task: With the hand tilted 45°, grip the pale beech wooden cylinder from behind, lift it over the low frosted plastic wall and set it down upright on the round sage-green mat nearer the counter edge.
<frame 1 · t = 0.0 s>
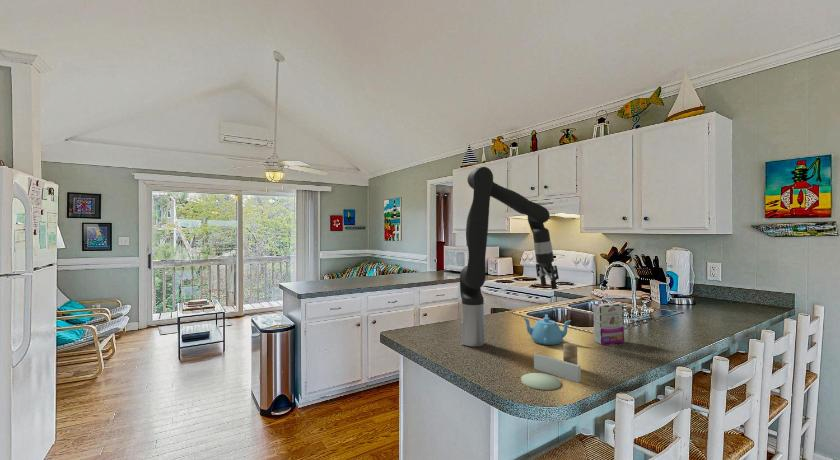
hand: (549, 287, 166), 22 cm above the countertop, fingers open, 8 cm apart
candy bar box: (608, 342, 158), on the countertop
beech cylinder: (570, 368, 129), on the countertop
teapot: (546, 341, 162), on the countertop
frosted wall: (556, 374, 123), on the countertop
sage mat: (540, 382, 118), on the countertop
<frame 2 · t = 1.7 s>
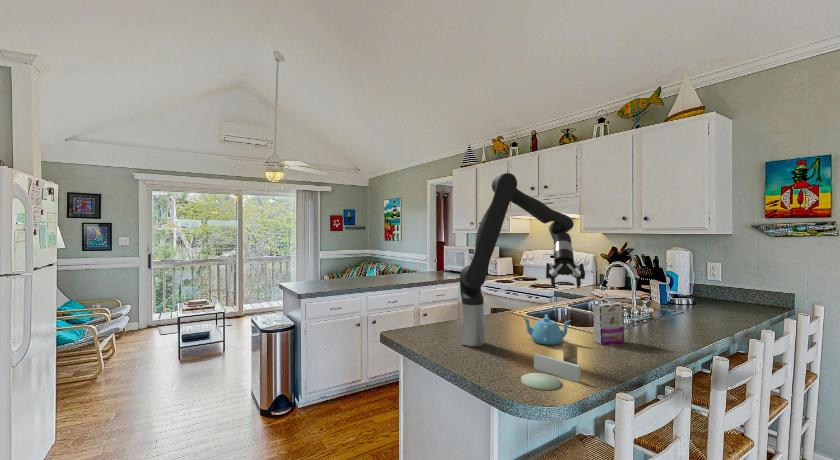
hand: (566, 286, 142), 27 cm above the countertop, fingers open, 8 cm apart
nothing on the countertop moved.
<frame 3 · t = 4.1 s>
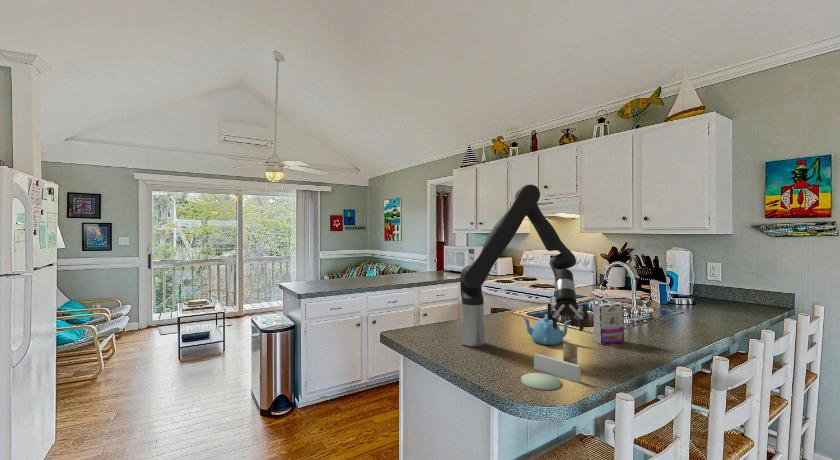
hand: (568, 329, 136), 11 cm above the countertop, fingers open, 8 cm apart
nothing on the countertop moved.
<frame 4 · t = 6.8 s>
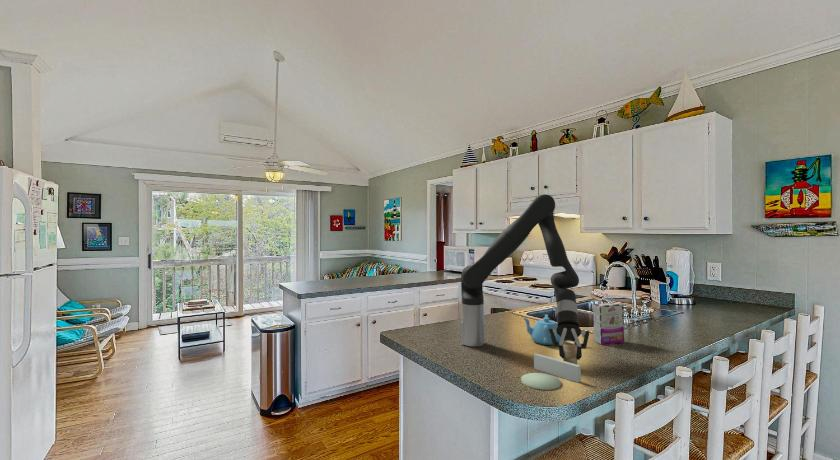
hand: (570, 357, 127), 4 cm above the countertop, fingers closed on beech cylinder, 4 cm apart
beech cylinder: (570, 368, 129), on the countertop, touching gripper
everything else where it was.
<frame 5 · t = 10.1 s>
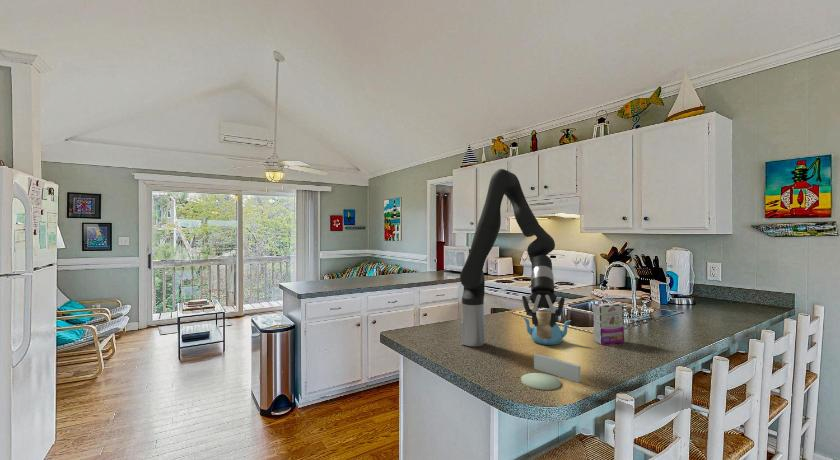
hand: (544, 325, 118), 18 cm above the countertop, fingers closed on beech cylinder, 4 cm apart
beech cylinder: (544, 336, 119), point 14 cm above the countertop, touching gripper
everything else where it was.
when the fingers open (6 cm above the countertop, at t = 13.6 s): beech cylinder drops 1 cm, resting on sage mat.
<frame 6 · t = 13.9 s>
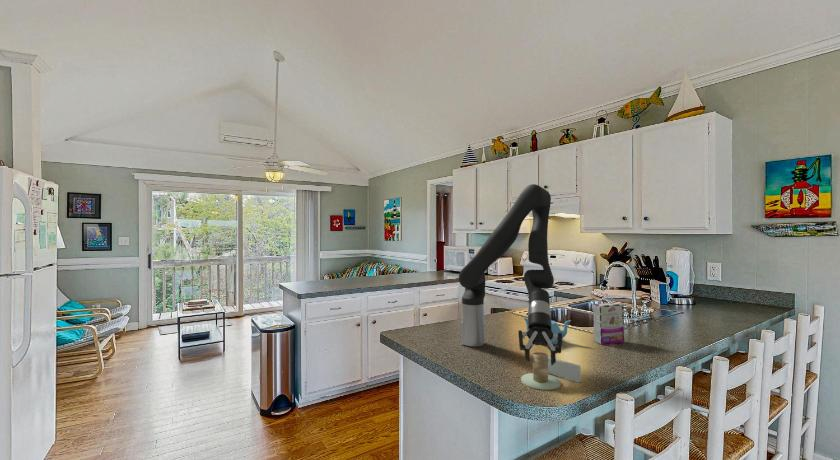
hand: (540, 362, 116), 6 cm above the countertop, fingers open, 6 cm apart
beech cylinder: (540, 379, 118), point 1 cm above the countertop, touching sage mat
everything else where it was.
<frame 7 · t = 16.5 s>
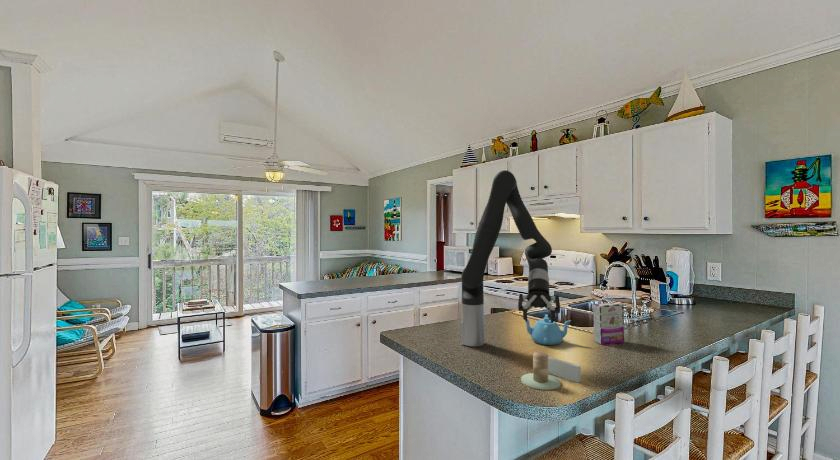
hand: (539, 321, 129), 17 cm above the countertop, fingers open, 8 cm apart
nothing on the countertop moved.
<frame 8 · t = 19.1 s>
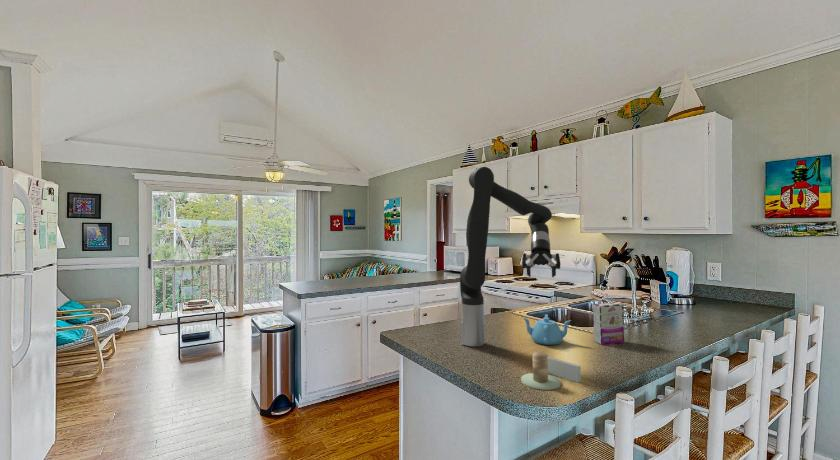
hand: (541, 275, 142), 31 cm above the countertop, fingers open, 8 cm apart
nothing on the countertop moved.
at the end: beech cylinder inside the target area on the sage mat (0.1 cm from its centre), point 0.6 cm above the sage mat's base; beech cylinder tilted 1°; the gripper is holding nothing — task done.
